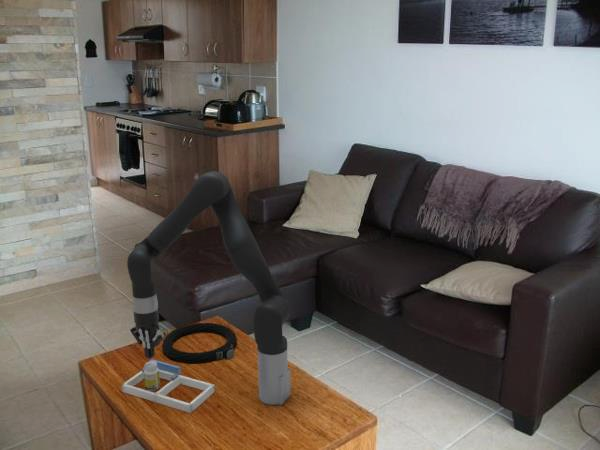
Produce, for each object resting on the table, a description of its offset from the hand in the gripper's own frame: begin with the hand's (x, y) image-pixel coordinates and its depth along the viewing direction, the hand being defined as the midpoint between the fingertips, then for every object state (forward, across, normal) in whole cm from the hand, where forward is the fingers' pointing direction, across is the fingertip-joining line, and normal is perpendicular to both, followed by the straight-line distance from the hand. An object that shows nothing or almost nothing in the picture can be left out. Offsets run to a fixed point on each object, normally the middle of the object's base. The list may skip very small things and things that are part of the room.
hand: (149, 357), depth 188 cm
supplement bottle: (+11, 0, 0) cm, 11 cm away
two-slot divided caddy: (+11, -6, 0) cm, 13 cm away
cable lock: (+12, +2, -30) cm, 32 cm away
